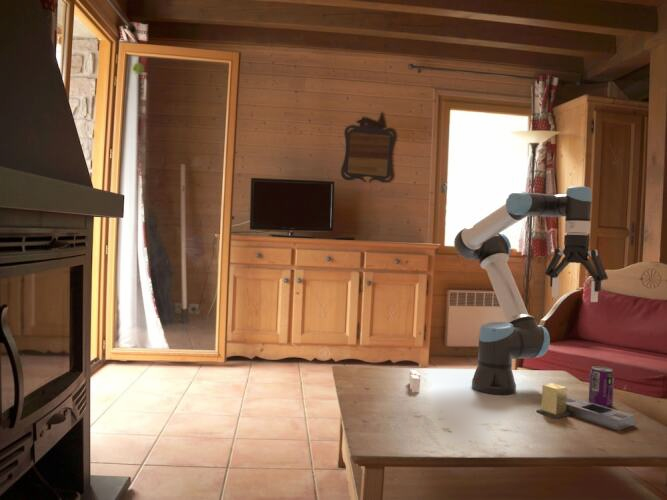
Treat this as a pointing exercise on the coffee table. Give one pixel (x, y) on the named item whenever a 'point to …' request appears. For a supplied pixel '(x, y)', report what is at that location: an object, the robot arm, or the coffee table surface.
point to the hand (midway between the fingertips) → (573, 299)
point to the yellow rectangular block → (554, 399)
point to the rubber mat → (554, 415)
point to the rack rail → (599, 414)
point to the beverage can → (601, 386)
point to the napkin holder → (414, 381)
